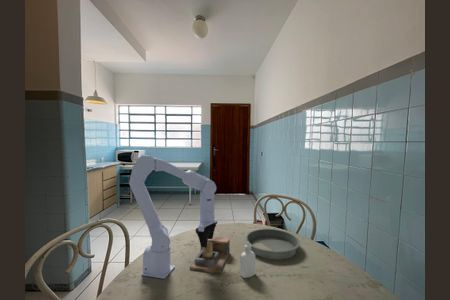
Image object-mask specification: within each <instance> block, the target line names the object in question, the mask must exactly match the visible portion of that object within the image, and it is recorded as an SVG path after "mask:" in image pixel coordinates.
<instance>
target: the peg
mask: <svg viewBox="0 0 450 300" xmlns="http://www.w3.org/2000/svg"><path fill="white" fill-rule="evenodd" d="M203 259H210V260H212V241H208V242H207V247H206V248H205V247H203Z"/></svg>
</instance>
